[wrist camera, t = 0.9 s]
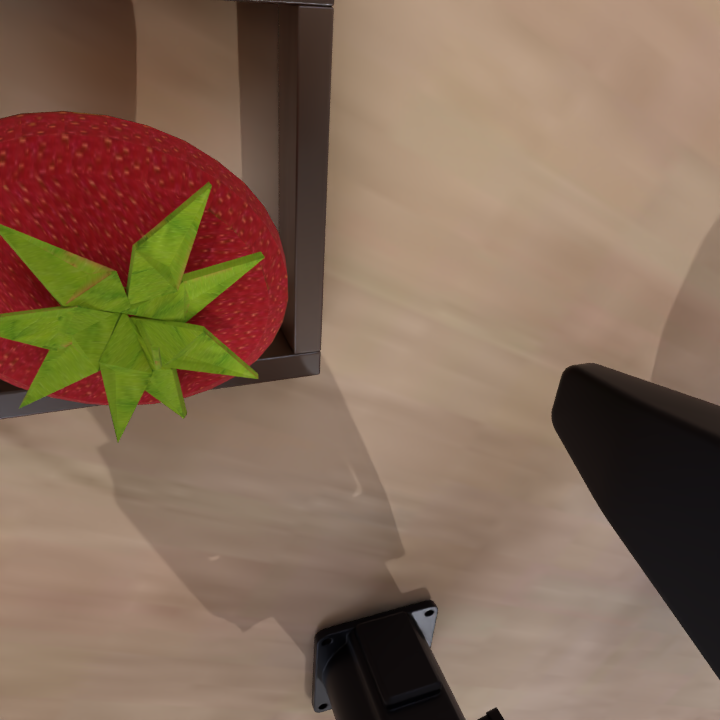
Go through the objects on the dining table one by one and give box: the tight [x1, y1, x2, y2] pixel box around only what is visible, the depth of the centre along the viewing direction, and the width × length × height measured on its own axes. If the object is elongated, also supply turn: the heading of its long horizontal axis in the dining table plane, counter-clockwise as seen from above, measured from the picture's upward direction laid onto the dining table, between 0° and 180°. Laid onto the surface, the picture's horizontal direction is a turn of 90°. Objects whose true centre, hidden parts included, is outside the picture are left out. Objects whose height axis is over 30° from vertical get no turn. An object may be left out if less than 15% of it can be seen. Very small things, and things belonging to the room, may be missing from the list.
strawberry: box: [0, 111, 288, 442], centre depth 13 cm, size 6×8×10 cm
